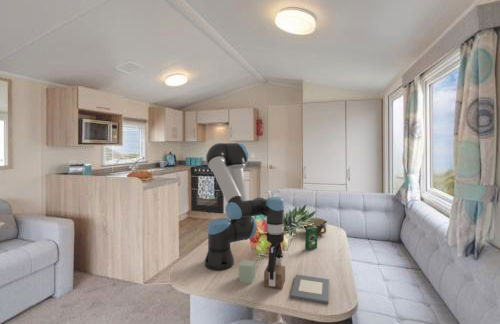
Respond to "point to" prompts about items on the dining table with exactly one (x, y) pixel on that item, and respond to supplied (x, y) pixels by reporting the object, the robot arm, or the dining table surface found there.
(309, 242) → the coffee box
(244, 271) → the sage brick
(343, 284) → the dining table surface
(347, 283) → the dining table surface
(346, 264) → the dining table surface
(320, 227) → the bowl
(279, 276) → the walnut block
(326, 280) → the grey flat slab
